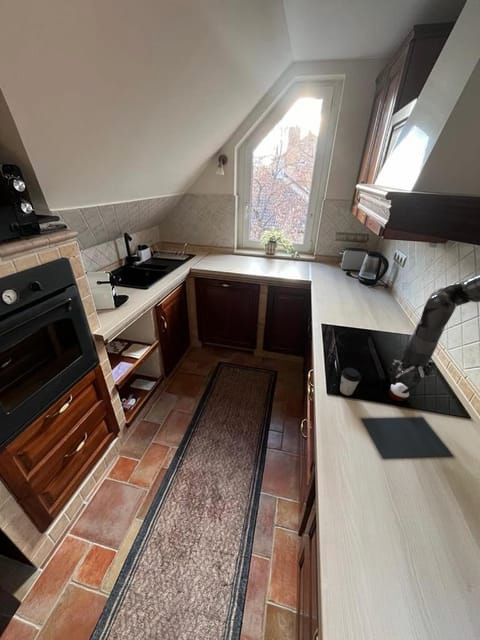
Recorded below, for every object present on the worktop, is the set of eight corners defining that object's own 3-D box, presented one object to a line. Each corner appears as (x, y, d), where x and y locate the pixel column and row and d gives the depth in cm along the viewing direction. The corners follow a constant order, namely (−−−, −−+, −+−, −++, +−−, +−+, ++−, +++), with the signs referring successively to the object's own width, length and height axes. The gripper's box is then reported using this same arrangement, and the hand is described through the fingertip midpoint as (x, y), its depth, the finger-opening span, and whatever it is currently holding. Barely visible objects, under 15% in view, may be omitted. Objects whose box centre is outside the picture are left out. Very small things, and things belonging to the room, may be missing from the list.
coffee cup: (358, 392, 99) (365, 372, 94) (350, 401, 95) (356, 381, 90) (342, 382, 103) (348, 363, 98) (333, 390, 99) (338, 371, 94)
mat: (422, 418, 89) (422, 417, 89) (452, 456, 77) (453, 455, 77) (361, 419, 88) (361, 418, 88) (382, 458, 76) (382, 457, 76)
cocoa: (386, 387, 101) (396, 364, 95) (404, 393, 99) (416, 369, 93) (387, 404, 94) (398, 380, 88) (406, 410, 92) (419, 386, 86)
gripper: (407, 354, 81) (390, 391, 89) (449, 353, 81) (429, 390, 89) (393, 340, 87) (379, 376, 95) (433, 340, 88) (415, 375, 96)
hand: (403, 383), depth 92 cm, fingers open, 8 cm apart
